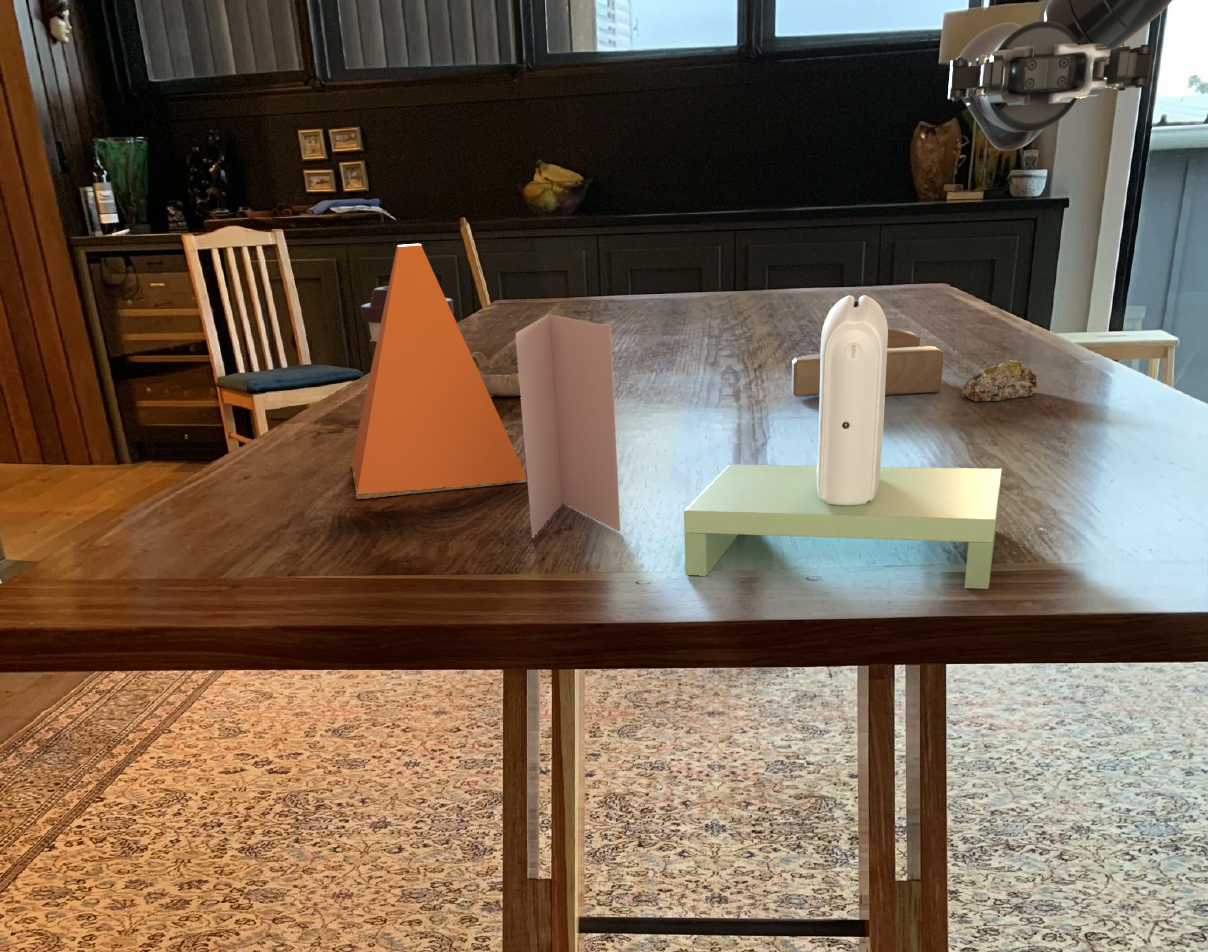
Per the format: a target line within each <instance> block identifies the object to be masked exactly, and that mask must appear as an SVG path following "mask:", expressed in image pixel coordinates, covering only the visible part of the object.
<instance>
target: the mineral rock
mask: <svg viewBox="0 0 1208 952" xmlns="http://www.w3.org/2000/svg"><path fill="white" fill-rule="evenodd" d="M983 372H984V373H978V374H977V375H973V376H972V377H971V378H969V379H968V380H967V381H966V384H964V385H963V389H962V390H961V395H962V396H963V397H966V398H968V399H969V400H973V401H974V402H999V401H1007V400H1010V399H1014V398H1015V399H1016V398H1027V397H1030V396H1033V395H1034V394H1036V393H1037V388H1038V379H1037V374H1035V372H1034V371H1033V370H1032V368H1031V367H1030V366H1026V365H1024V364H1021V363H1020V362H1018V361H1017V360H1012V359H1007V360H1005V361H1003V362H1002V363H999V364H998V365H997V364H996V365H991V366H988V367H986V368H985V367H984V369H983Z"/></svg>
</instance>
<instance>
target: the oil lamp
mask: <svg viewBox="0 0 1208 952" xmlns="http://www.w3.org/2000/svg"><path fill="white" fill-rule="evenodd" d="M470 354H471V356H472V358H473V360H474V362H475V365H476V366H477V363H478V365H479V366H478V367H477V369H478V371H479V373H480V375H481V378H482V380H483V382H484V384H485V386H486V389H487V391H488V393H489V395H497V396H496V397H516V396H521V395H520V383H519V371H518V365H495V366H490V363H489V360H488V359H487V357H486V355H485V354H484V353H483V352H481V351H476V352H470Z"/></svg>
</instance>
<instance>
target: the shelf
mask: <svg viewBox="0 0 1208 952" xmlns="http://www.w3.org/2000/svg"><path fill="white" fill-rule="evenodd" d="M816 470H817V465H797V464H796V465H792V464H791V465H790V464H789V465H786V464H784V465H783V464H780V465H779V464H728V465H727V467H725V469H723V471H722V472H721V473H720V474H719V475H717V477H716V478H715V479H714V480H713V481H712V482H711V483H710V484H709V485H707V487H706V488H705V489H704V490H703V491H702V492H701V493H700V494H699V495H698V496H697V497H696V498H695V499H694V500H693V501H692V502H691V504H690V505H689V506H687V507H686V508H685V510H684V511H683V519H684V520H683V522H684V523H683V525H684V527H683V528H684V530H683V531H684V567H685V568H684V570H685V571H684V573H685V576H686V575H699V576H698V577H707V576H708V575H709V574H710V572H711V571H712V569H713V568H714V567H715V566H716V565H717V563H718V562H719V561H720V560H721V558H722V557H723V555H724V554H725V553H726V552H727V551H728V549H729V548H730V546H731V545H732V544H733V543H734V542H735V540H736V539H737V538H738V536H740V535H748V536H749V535H750V536H775V537H803V538H804V537H807V538H831V539H832V538H836V539H861V540H863V539H865V540H866V539H867V540H893V541H894V540H895V541H896V540H897V541H923V542H924V541H926V542H951V543H952V542H955V543H956V542H957V543H967V553H966V554H967V555H966V564H965V575H964V587H963V588H964V589H974V590H975V589H976V590H977V589H978V590H989V587H990V581H991V571H992V564H993V558H994V557H993V556H994V547H995V539H996V533H997V532H996V531H997V523H998V512H999V502H1000V494H1001V483H1002V473H1003V469H1002V468H983V467H982V468H981V467H980V468H977V467H975V468H974V467H919V466H918V467H917V466H916V467H915V466H914V467H911V466H910V467H909V466H880V476H879V484H878V489H877V493H876V496H875V497H874V499H873V500H870V501H867V503H866V504H862V505H848V506H843V505H831V504H827V503H826V501H824V500H820V499H819V496H818V491H817V474H816ZM706 575H707V576H706Z"/></svg>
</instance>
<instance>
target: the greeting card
mask: <svg viewBox="0 0 1208 952" xmlns="http://www.w3.org/2000/svg"><path fill="white" fill-rule="evenodd" d="M514 335H515V345H516V346H515V347H516V358H517V366H518V371H519V383H520V395H521V397H520V405H521V406H520V407H521V417H522V418H521V419H522V430H523V442H524V463H525V464H524V466H525V474H526V479H527V483H526V486H527V487H526V488H527V494H528V501H529V502H528V503H529V515H530V527H531V528H530V529H531V538H534V537H535V535H537V536H538V534H539V533H538V531H540V529H541V528H542V527H543V526H544V524H545V523H546V522H547V520H549V521H550V519H551V518H552V517H553V516H554V514H555V513H556V512H557V511H558V509H559V508H560V507H561V506H562V505H563V504H564V505H566V506H568V507H570V506H571V507H570V508H572V509H574V510H575V509H576V510H575V511H577V510H578V512H579V513H581V512H582V514H583V513H584V514H583V515H585V516H587V517H589V518H591V519H593V520H595V521H597V522H599V523H601V524H603V525H605V526H607V527H608V528H611V529H613V530H615V531H617V532H619V531H620V532H621V514H620V494H619V492H620V491H619V490H620V489H619V474H618V473H619V472H618V471H619V469H618V453H617V449H618V448H617V429H616V410H615V407H616V406H615V389H614V368H613V367H614V366H613V365H614V364H613V347H612V345H613V344H612V327H611V325H606V324H601V323H595V322H591V321H585V320H580V319H575V318H569V317H564V316H561V315H560V316H559V315H554V314H547V315H545V316H544V317H542V318H539V320H537V321H535V322H533V323H531V324H529V325H527V326H526V327H524V328H522V329H521V330H519V331H517V332H515V334H514ZM562 502H563V503H562ZM560 505H561V506H560ZM559 506H560V507H559ZM556 510H557V511H556ZM555 511H556V512H555ZM554 512H555V513H554ZM553 513H554V514H553ZM552 515H553V516H552ZM551 516H552V517H551ZM550 517H551V518H550ZM549 518H550V519H549ZM547 523H548V522H547ZM547 523H546V524H547ZM546 524H545V525H546ZM544 527H545V526H544ZM544 527H543V528H544ZM543 528H542V529H543ZM542 529H541V530H542ZM540 532H541V531H540ZM537 533H538V534H537ZM535 538H536V537H535ZM535 538H534V539H535Z"/></svg>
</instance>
